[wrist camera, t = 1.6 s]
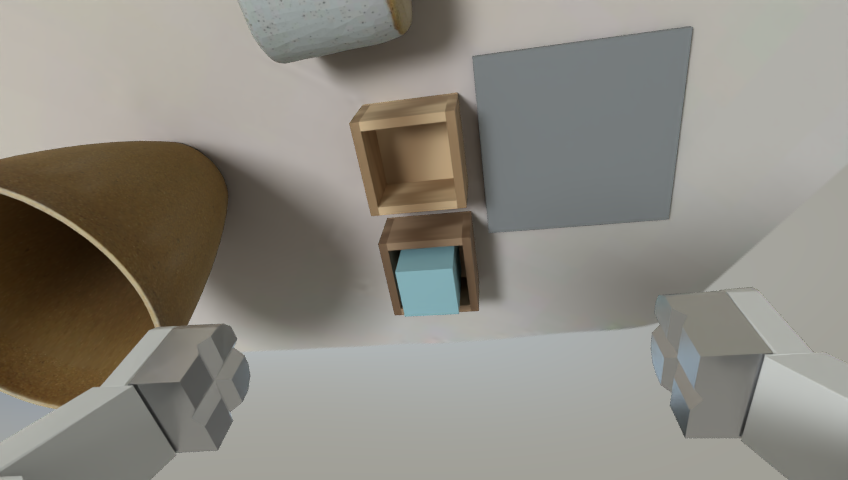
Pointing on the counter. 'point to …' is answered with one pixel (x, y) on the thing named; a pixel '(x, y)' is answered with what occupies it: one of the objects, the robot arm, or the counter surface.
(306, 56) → the ceramic mug
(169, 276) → the plant pot
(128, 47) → the counter surface
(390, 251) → the brown wooden square tray
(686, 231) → the counter surface
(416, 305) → the light blue block
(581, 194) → the slate mat
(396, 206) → the light wooden open box
